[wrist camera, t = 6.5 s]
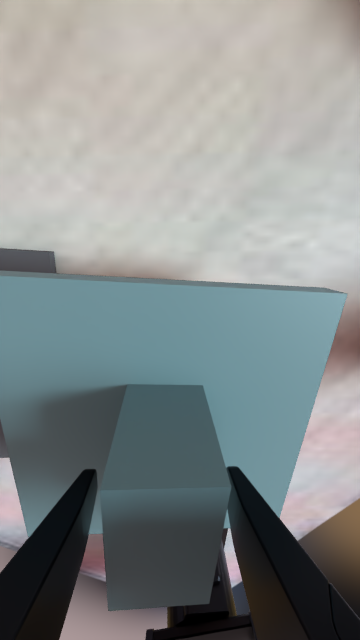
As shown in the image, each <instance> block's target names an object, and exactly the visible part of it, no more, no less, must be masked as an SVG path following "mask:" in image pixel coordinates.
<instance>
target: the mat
mask: <svg viewBox="0 0 360 640" xmlns="http://www.w3.org/2000/svg"><path fill="white" fill-rule="evenodd" d="M0 271H18V272H37V273H56V267H55V258H54V252H50V251H33V250H17V249H0ZM0 458H9V454H8V449H7V445H6V441H5V437H4V433H3V428H2V424H1V420H0Z"/></svg>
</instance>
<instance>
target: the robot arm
mask: <svg viewBox="0 0 360 640" xmlns="http://www.w3.org/2000/svg"><path fill="white" fill-rule="evenodd" d="M226 470H227V473H228V477H229V481H230V484H231V491H230V496H229V502H228V507H227V510H228V516H229V522H230V528H231V534H232V539H233V545H234V549H235V553H236V557H237V561H238V565H239V569H240V573H241V577H242V581H243V584H244V588H245V592H246V596H247V600H248V604H249V608H250V611H249V612H248V614H244V615H238V616H237V614H236V608H235V603H234V598H233V593H232V588H231V583H230V578H229V573H228V568H227V563H226V558H225V553H224V546H225V541H226V536H227V531H228V528H223V533H222V538H221V544H220V549H219V554H218V559H217V565H216V570H215V575H214V581H213V586H212V591H211V596H210V602H209V604H199V605H185V606H171V607H167V625H168V627H167V628H165V629H159V630H154V629H148V630H147V631H146V640H360V619H359V618H358V616H357V615H356V614H355V613H354V611H353V610H352V609H351V608H350V606H349V605H348V604H347V603H346V602H345V600H344V599H343V598H342V597H341V595H340V594H339V593H338V591H337V590H336V589H335V588H334V586H333V585H332V584H331V583H329V582H328V579H327V578H326V577H325V575H324V574H323V573H322V571H321V570H320V569H319V568H318V566H317V565H316V564H315V563H314V561H313V560H312V559H311V558H310V556H309V555H308V554H307V553H306V552H305V550H304V549H303V548H302V546H301V545H300V544H299V542H298V541H297V540H296V539H295V537H294V536H293V535H292V534H291V532H290V531H289V530H288V529H287V527H286V526H285V525H284V524H283V522H282V521H281V520H280V518H279V517H278V516H277V515H276V513H275V512H274V511H273V510H272V508H271V507H270V506H269V505H268V503H267V502H266V501H265V500H264V498H263V497H262V496H261V495H260V493H259V492H258V491H257V489H256V488H255V487H254V486H253V484H252V483H251V482H250V481H249V479H248V478H247V477H246V476H245V474H244V473H243V472H242V471H241V469H240V468H239V467H237V466H228V467H227V468H226ZM97 489H98V482H97V471H96V469H84V470H83V471H82V472H81V473H80V475H79V476H78V477H77V478H76V480H75V481H74V482H73V483H72V485H71V486H70V487H69V488H68V490H67V491H66V492H65V493H64V495H63V496H62V497H61V498H60V500H59V501H58V502H57V503H56V504H55V506H54V507H53V508H52V509H51V511H50V512H49V513H48V514H47V516H46V517H45V518H44V519H43V521H42V522H41V523H40V524H39V526H38V527H37V528H36V529H35V531H34V532H33V533H32V534H31V536H30V537H29V538H28V539H27V541H26V542H25V543H24V544H23V546H22V547H21V548H20V549H19V550H18V552H17V553H16V554H15V555H14V557H13V558H12V559H11V560H10V562H9V563H8V564H7V565H6V567H5V568H4V569H3V570H2V572H1V573H0V640H59V638H60V634H61V631H62V628H63V624H64V621H65V618H66V614H67V611H68V607H69V604H70V601H71V597H72V594H73V590H74V587H75V584H76V580H77V577H78V573H79V570H80V567H81V563H82V560H83V556H84V552H85V548H86V544H87V539H88V535H89V530H90V525H91V520H92V515H93V510H94V505H95V500H96V495H97Z"/></svg>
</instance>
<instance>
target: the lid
mask: <svg viewBox="0 0 360 640" xmlns="http://www.w3.org/2000/svg"><path fill="white" fill-rule="evenodd" d="M346 297H347V294H346V293H343V292H339V291H335V290H331V289H327V288H318V287H299V286H280V285H262V284H243V283H224V282H206V281H187V280H168V279H149V278H131V277H112V276H93V275H75V274H56V273H37V272H18V271H0V420H1V424H2V428H3V433H4V437H5V441H6V445H7V449H8V454H9V458H10V462H11V466H12V471H13V475H14V479H15V483H16V487H17V492H18V496H19V500H20V504H21V509H22V513H23V517H24V521H25V526H26V530H27V534H28V537H30V536H31V534H32V533H33V532H34V531H35V529H36V528H37V527H38V526H39V524H40V523H41V522H42V521H43V519H44V518H45V517H46V516H47V514H48V513H49V512H50V511H51V509H52V508H53V507H54V506H55V504H56V503H57V502H58V501H59V500H60V498H61V497H62V496H63V495H64V493H65V492H66V491H67V490H68V488H69V487H70V486H71V485H72V483H73V482H74V481H75V480H76V478H77V477H78V476H79V475H80V473H81V472H82V471H83V470H84V469H96V471H97V482H98V489H97V495H96V500H95V505H94V510H93V515H92V520H91V525H90V530H89V534H103V544H104V558H105V572H106V584H107V585H106V586H107V600H108V611H116V610H130V609H144V608H157V607H171V606H185V605H199V604H209V602H210V596H211V591H212V586H213V581H214V575H215V570H216V565H217V559H218V554H219V549H220V544H221V538H222V533H223V528H230V522H229V516H228V510H227V507H228V502H229V496H230V491H231V484H230V481H229V477H228V473H227V470H226V468H227V467H228V466H237V467H239V468H240V469H241V471H242V472H243V473H244V474H245V476H246V477H247V478H248V479H249V481H250V482H251V483H252V484H253V486H254V487H255V488H256V489H257V491H258V492H259V493H260V495H261V496H262V497H263V498H264V500H265V501H266V502H267V503H268V505H269V506H270V507H271V508H272V510H273V511H274V512H275V513H276V515H277V516H278V517H280V514H281V511H282V507H283V504H284V501H285V497H286V494H287V491H288V488H289V484H290V481H291V478H292V474H293V471H294V468H295V465H296V461H297V458H298V455H299V451H300V448H301V445H302V442H303V438H304V435H305V432H306V428H307V425H308V422H309V419H310V415H311V412H312V409H313V405H314V402H315V399H316V396H317V392H318V389H319V386H320V382H321V379H322V376H323V373H324V369H325V366H326V363H327V359H328V356H329V353H330V350H331V346H332V343H333V340H334V336H335V333H336V330H337V327H338V323H339V320H340V317H341V313H342V310H343V307H344V304H345V300H346Z"/></svg>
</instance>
